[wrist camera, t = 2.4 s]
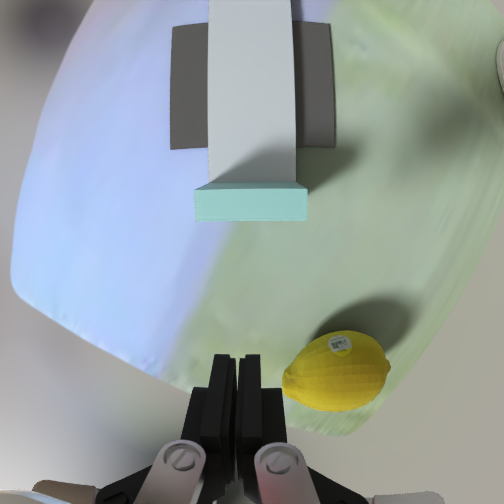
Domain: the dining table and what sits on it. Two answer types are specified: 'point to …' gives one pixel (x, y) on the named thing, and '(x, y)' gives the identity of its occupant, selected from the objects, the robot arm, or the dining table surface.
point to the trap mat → (305, 78)
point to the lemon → (337, 372)
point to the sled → (251, 115)
